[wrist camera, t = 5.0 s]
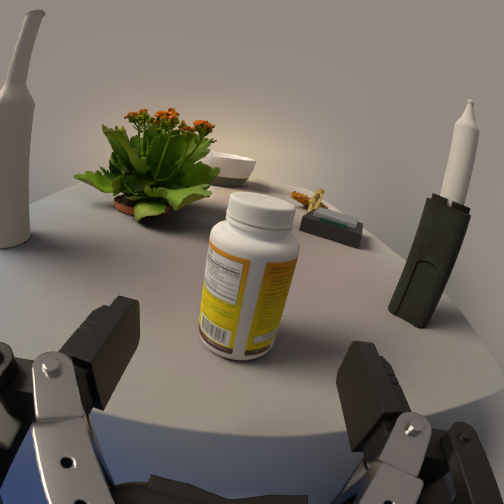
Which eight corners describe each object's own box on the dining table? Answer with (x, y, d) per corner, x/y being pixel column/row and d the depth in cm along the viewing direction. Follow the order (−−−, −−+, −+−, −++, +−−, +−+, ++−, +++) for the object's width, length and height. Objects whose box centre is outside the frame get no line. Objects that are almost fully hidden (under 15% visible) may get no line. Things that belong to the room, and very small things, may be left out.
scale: (359, 235, 58) (364, 219, 57) (357, 248, 49) (363, 230, 47) (310, 219, 62) (314, 204, 60) (299, 230, 52) (303, 212, 51)
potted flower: (42, 216, 34) (51, 97, 28) (104, 187, 56) (114, 107, 50) (203, 242, 37) (227, 104, 31) (215, 203, 59) (231, 119, 53)
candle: (384, 309, 29) (446, 84, 20) (398, 297, 32) (452, 101, 23) (422, 330, 26) (491, 97, 17) (432, 315, 29) (491, 113, 20)
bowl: (253, 183, 97) (258, 159, 94) (246, 193, 76) (252, 162, 73) (190, 171, 97) (194, 148, 94) (166, 178, 76) (171, 149, 73)
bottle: (-1, 228, 28) (24, 23, 18) (37, 229, 30) (66, 17, 20) (-22, 247, 22) (4, 9, 12) (18, 249, 24) (51, -1, 14)
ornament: (291, 182, 75) (305, 177, 60) (326, 199, 76) (346, 198, 62) (281, 205, 76) (293, 206, 61) (316, 221, 77) (335, 226, 63)
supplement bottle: (271, 323, 23) (303, 200, 20) (273, 370, 18) (318, 221, 14) (204, 310, 23) (223, 184, 20) (189, 355, 18) (209, 199, 14)
